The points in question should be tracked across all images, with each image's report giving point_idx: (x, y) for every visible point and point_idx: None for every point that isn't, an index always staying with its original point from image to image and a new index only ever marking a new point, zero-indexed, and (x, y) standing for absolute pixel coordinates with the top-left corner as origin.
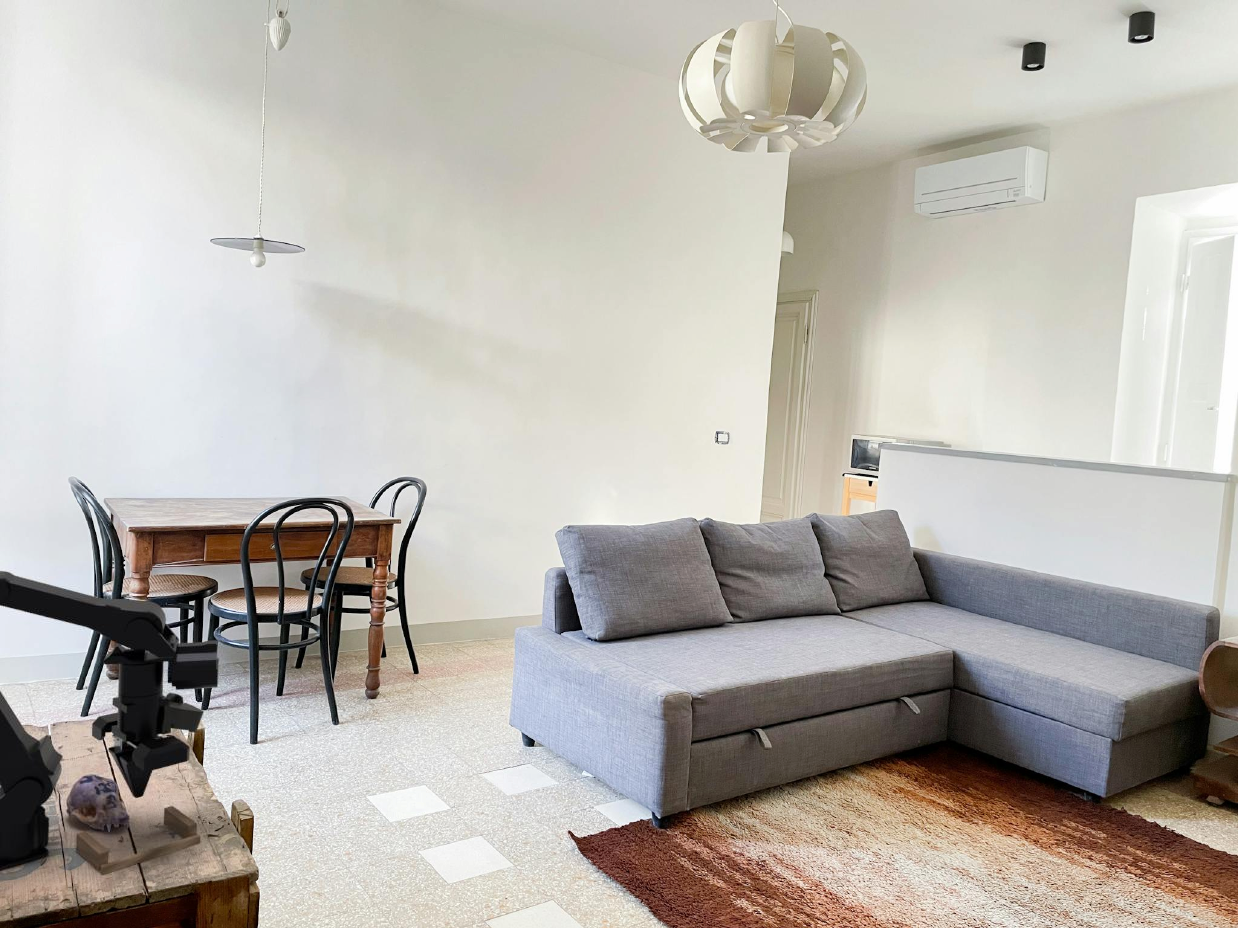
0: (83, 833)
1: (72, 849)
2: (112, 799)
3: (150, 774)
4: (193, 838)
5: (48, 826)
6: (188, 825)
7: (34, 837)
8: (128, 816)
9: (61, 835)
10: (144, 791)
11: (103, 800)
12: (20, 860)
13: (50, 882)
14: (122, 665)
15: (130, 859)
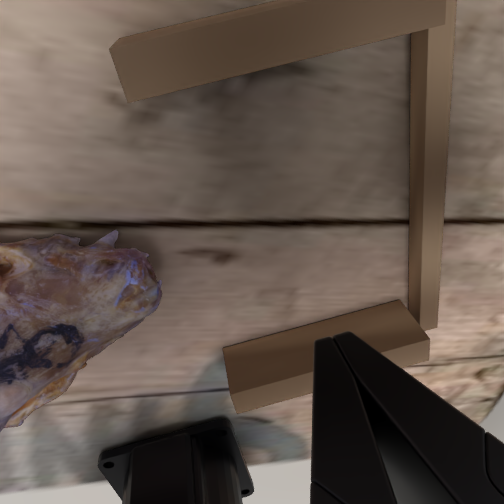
0: (248, 398)
1: (214, 373)
2: (7, 351)
3: (495, 440)
4: (455, 4)
5: (188, 490)
6: (436, 25)
7: (225, 496)
8: (141, 264)
9: (92, 399)
10: (371, 346)
11: (27, 387)
12: (242, 465)
13: None
14: None
15: (438, 258)
